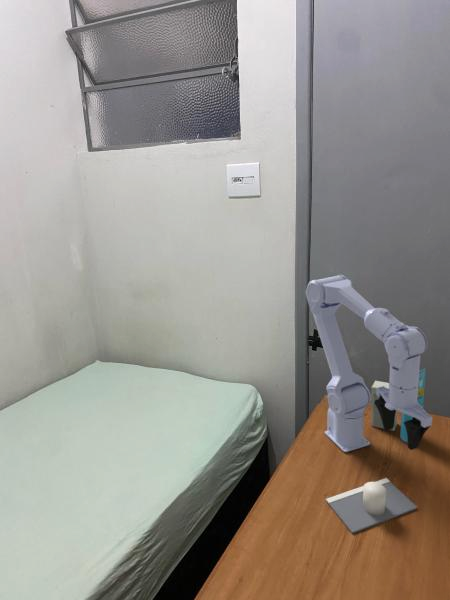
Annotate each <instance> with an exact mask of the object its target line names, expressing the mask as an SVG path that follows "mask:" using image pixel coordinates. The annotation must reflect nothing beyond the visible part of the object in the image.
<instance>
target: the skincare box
mask: <svg viewBox="0 0 450 600" xmlns="http://www.w3.org/2000/svg"><path fill="white" fill-rule="evenodd" d="M382 386H384V387H386V388H388V389H389V382H386V381H379V380H374V382H373V384H372V385H371V418H370V419H371V423H370V424H371V427H374V428H379V429H383V430H384V428H383V424H382V419H381V416H380V413H379V411H378V409H377V407H376V405H375V404H374V403H375V400H378V399H379V398H380V397H378V396H377V395H376V388H378V387H382ZM397 425H398V411H397V410H396V413H395V421H394V427H393V429H390V430H389V431H393V432H394V431H396V429H397V427H398V426H397Z"/></svg>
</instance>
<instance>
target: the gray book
mask: <svg viewBox="0 0 450 600" xmlns="http://www.w3.org/2000/svg"><path fill="white" fill-rule="evenodd" d="M375 482H377V483H379V484H381V485H383V486H384V487H385V489H386V505H385V512H384V513H383V514H381V515H372V514H370V513H368V512H367V511H365V509H364V508H363V488H364V485H361V486H359V487H356V488H353V489H350V490H347V491H344V492H341V493H339V494H335V495H332V496H330V497H327V498H325V502H326V503H327V504H328V506H329V507H330V508H331V509H332V510H333V512H334V513H335V514H336V516H337V517H338V518H339V519H340V520H341V522H342V523H343V525H345V527H346V528H347V529H348V531H349V532H350V533H351V534H356V533H358V532H360V531H362V530H363V531H364V530H365V529H368V528H371V527H375V526H376V525H378V524H381V523H384V522H386V521H389V520H392V519H394V518H397V517H399V516H402V515H404V514H408V513H410V512H412V511H414V510H418V506H417V505H416V504H415V503H414V502H413V501H411V499H410V498H408V497H407V496H406V495H405V494H404V493H403V492H402V491H401V490H400V489H398V488H397V486H395V484H393V483H392V482H391V481H390V479H388V478H387V477H384V478H381V479H379V480H376V481H375Z"/></svg>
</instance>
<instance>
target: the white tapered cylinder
mask: <svg viewBox="0 0 450 600" xmlns="http://www.w3.org/2000/svg"><path fill="white" fill-rule="evenodd" d="M363 486H364V488H363V508H364V509H365V511H367V512H368V513H370V514H372V515H381V514H383V513H384V512H385V505H386V489H385V487H384V486H383V485H381V484H379V483H377V482H376V481H368V482H365V483H364V484H363Z"/></svg>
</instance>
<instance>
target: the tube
mask: <svg viewBox="0 0 450 600" xmlns="http://www.w3.org/2000/svg"><path fill="white" fill-rule="evenodd" d="M425 385H426V368H425V367H424V368H422V369H421V370H419V382H418V396H417V402H418V403H419V404H420V405H421V407H422V408H423V409H424V401H425V400H424V398H425V387H426V386H425ZM412 418H413V417H411V416H409V415H407V414H404V413H402V412H401V419H400V433H399V434H400V435H399V437H400V439H401V440H402V441H403V442H404V443H407V444H408V436H407V430H406V427H405V425H404V422H405V421H408V420H412Z"/></svg>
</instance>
